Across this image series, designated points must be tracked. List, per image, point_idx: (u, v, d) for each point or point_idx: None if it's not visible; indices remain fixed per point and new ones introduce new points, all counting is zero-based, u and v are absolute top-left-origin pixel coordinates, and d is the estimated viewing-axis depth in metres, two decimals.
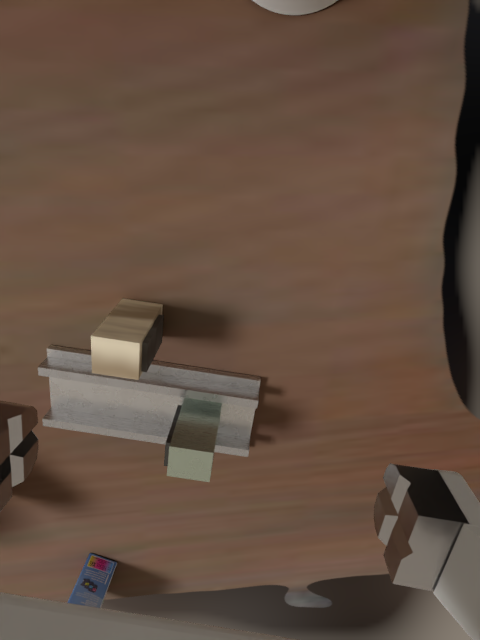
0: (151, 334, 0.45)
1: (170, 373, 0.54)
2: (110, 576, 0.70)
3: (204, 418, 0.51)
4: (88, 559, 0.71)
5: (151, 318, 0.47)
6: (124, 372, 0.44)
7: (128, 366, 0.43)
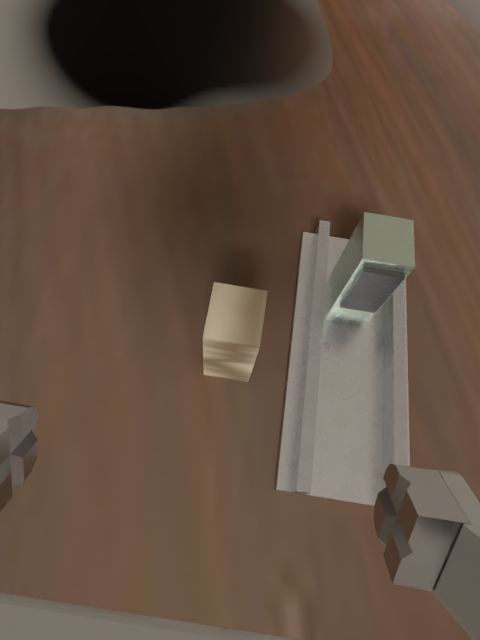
0: None
1: (303, 323, 0.43)
2: None
3: (344, 262, 0.41)
4: None
5: None
6: (257, 305, 0.34)
7: (248, 299, 0.34)
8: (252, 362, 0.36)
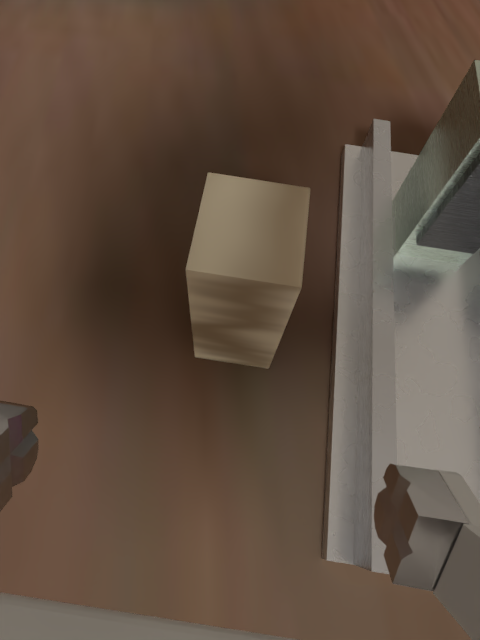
0: None
1: (354, 275, 0.27)
2: None
3: (424, 170, 0.25)
4: None
5: None
6: (291, 212, 0.17)
7: (274, 203, 0.17)
8: (281, 327, 0.19)
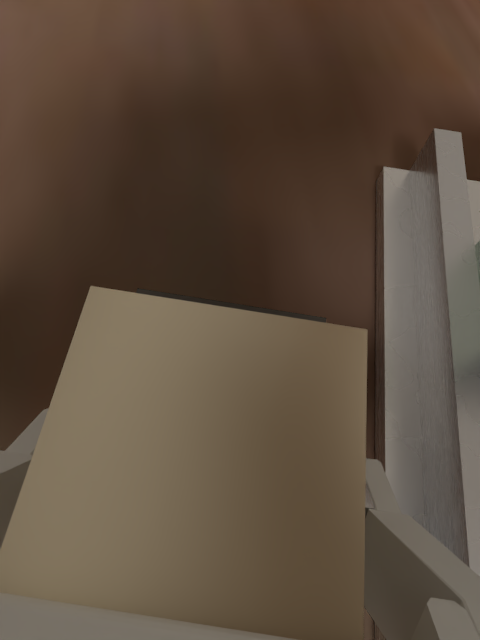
0: None
1: (411, 400, 0.16)
2: None
3: None
4: None
5: None
6: (319, 415, 0.06)
7: (268, 382, 0.06)
8: None
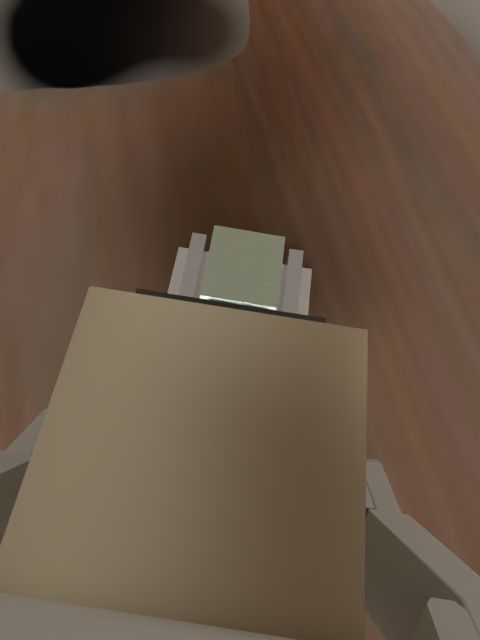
0: None
1: None
2: None
3: None
4: None
5: None
6: (319, 416, 0.06)
7: (269, 383, 0.06)
8: None
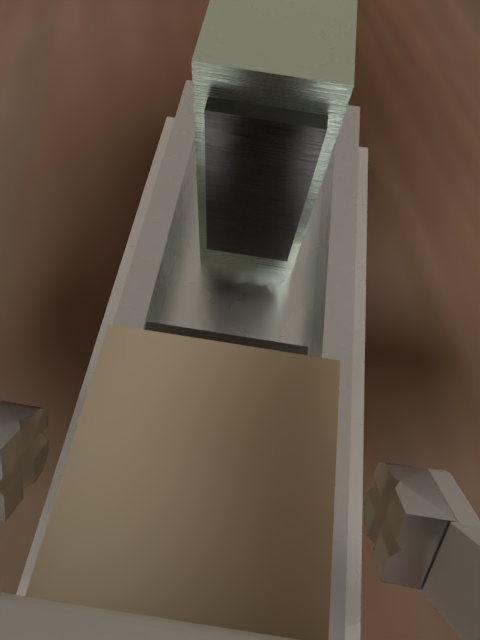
0: None
1: None
2: None
3: None
4: None
5: None
6: (298, 434, 0.07)
7: (257, 406, 0.07)
8: None
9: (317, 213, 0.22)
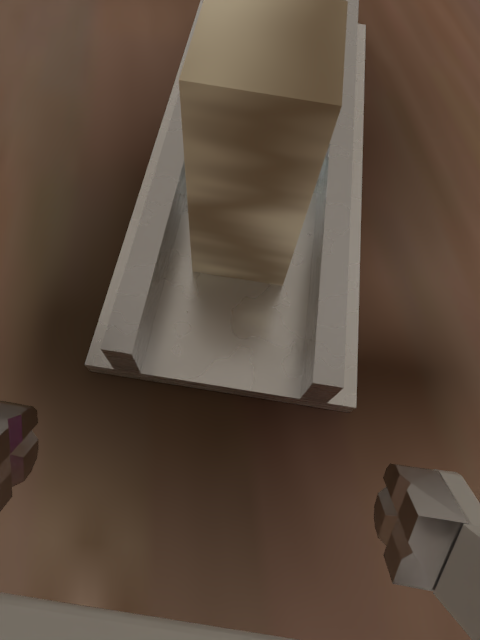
0: None
1: None
2: None
3: None
4: None
5: None
6: (323, 25, 0.13)
7: (300, 14, 0.13)
8: (304, 202, 0.15)
9: None
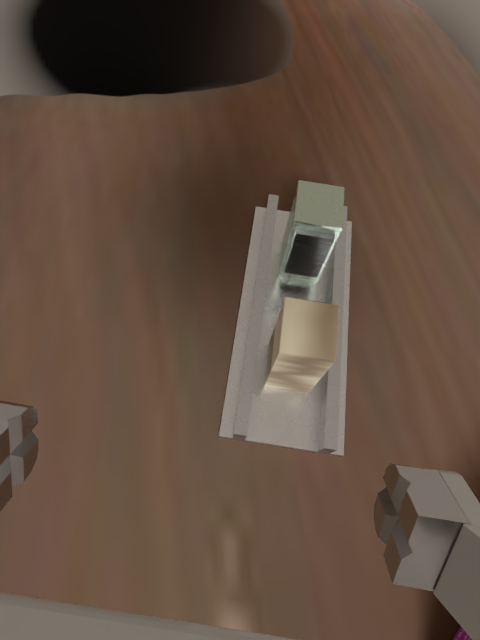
0: None
1: (251, 289, 0.46)
2: None
3: (287, 230, 0.45)
4: None
5: (274, 328, 0.40)
6: (329, 319, 0.34)
7: (320, 314, 0.34)
8: (321, 375, 0.36)
9: None
